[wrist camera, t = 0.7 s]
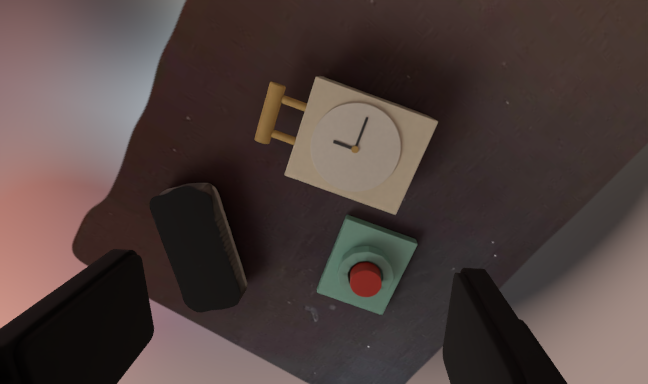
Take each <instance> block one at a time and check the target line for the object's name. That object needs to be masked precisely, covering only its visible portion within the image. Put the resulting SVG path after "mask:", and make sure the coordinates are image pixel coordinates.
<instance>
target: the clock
mask: <svg viewBox="0 0 648 384" xmlns="http://www.w3.org/2000/svg"><path fill="white" fill-rule="evenodd" d="M285 89H286V87H285V86H283V85H281V84H278V83H275V82H270V84H269V88H268V92H267V95H266V99H265V103H264V106H263V110H262V113H261V117H260V121H259V124H258V128H257V131H256V135H255V140H256V141H258V142H260V143H263V144H269V143H270V140H271V137H273V138H276V139H279V140H282V141H284V142H287V143H290V144H293V145H294V147H293V150H292V153H291V156H290V159H289V162H288V165H287V169H286V172H285V175H286V176H288V177H291V178H294V179H297V180H300V181H302V182H305V183H308V184H311V185H313V186H316V187H319V188H322V189H325V190H327V191H330V192H333V193H336V194H338V195H341V196H344V197H347V198H350V199H352V200H355V201H358V202H361V203H364V204H366V205H369V206H372V207H375V208H377V209H380V210H383V211H386V212H389V213H391V214H394V215H396V213H397V211H398V209H399V207H400V204H401V202H402V200H403V198H404V196H405V193H406V191H407V189H408V187H409V185H410V183H411V180H412V178H413V176H414V174H415V172H416V170H417V167H418V165H419V163H420V161H421V159H422V156H423V154H424V152H425V150H426V148H427V146H428V143H429V141H430V139H431V137H432V135H433V133H434V130H435V128H436V126H437V124H438V121H437V120H435V119H433V118H431V117H430V116H428V115H426V114H423V113H420V112H418V111H415V110H412V109H410V108H407V107H404V106H401V105H399V104H396V103H393V102H390V101H388V100H385V99H382V98H380V97H377V96H374V95H371V94H369V93H366V92H363V91H361V90H358V89H355V88H352V87H350V86H347V85H344V84H342V83H339V82H336V81H333V80H331V79H328V78H325V77H323V76H319V77H316V78H315V81H314V84H313V87H312V90H311V93H310V97H309V100H308V103H304V102H301V101H299V100H296V99H293V98H290V97H288V96H285V95H284V92H285ZM281 103H283V104H286V105H288V106H291V107H294V108H297V109H299V110H302V111H305V112H304V115H303V119H302V122H301V125H300V128H299V131H298V134H297V137H293V136H291V135H288V134H285V133H282V132H280V131H277V130H274V126H275V123H276V120H277V116H278V113H279V109H280V106H281Z"/></svg>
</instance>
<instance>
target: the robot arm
mask: <svg viewBox="0 0 648 384" xmlns="http://www.w3.org/2000/svg"><path fill="white" fill-rule="evenodd" d="M153 333H154V325H153V320H152V314H151V308H150V303H149V297H148V292H147V286H146V280H145V275H144V269H143V263H142V259H141V257H140V256H139V255H137V253H136V252H135V251H133V250H120V249H113V250H111V251H109V252H108V253H106V254H105V255H104V256H102V257H101V258H99V259H98V260H97V261H95V262H94V263H92V264H91V265H90V266H88V267H87V268H85V269H84V270H82V271H81V272H80V273H79V274H77V275H75V276H74V277H73V278H71V279H70V280H68V281H67V282H65V283H64V284H63V285H62V286H60V287H58V288H57V289H56V290H54V291H53V292H51V293H50V294H49V295H47V296H46V297H44V298H43V299H41V300H40V301H39V302H37V303H36V304H34V305H33V306H32V307H30V308H29V309H28V310H26V311H25V312H23V313H22V314H21V315H19V316H17V317H16V318H15V319H13V320H12V321H10V322H9V323H8V324H6V325H5V326H3V327H2V328H0V384H117V383H118V381H119V380H120V379H121V378H122V376H123V375H124V374H125V372H126V371H127V370H128V369H129V367H130V366H131V365H132V363H133V362H134V361H135V360H136V358H137V357H138V356H139V355H140V353H141V352H142V351H143V349H144V348H145V347H146V346H147V344H148V343H149V342H150V340H151V338H152V336H153ZM443 360H444V364H445V367H446V370H447V373H448V377H449V380H450V383H451V384H567V382H566V381H565V380H564V378H563V377H562V375H561V374H560V372H559V371H558V369H557V368H556V367H555V365H554V364H553V362H552V361H551V359H550V358H549V357H548V355H547V354H546V352H545V351H544V349H543V348H542V346H541V345H540V344H539V342H538V341H537V339H536V338H535V336H534V335H533V333H532V332H531V331H530V329H529V328H528V326H527V325H526V324H525V323H524V322H523V321H522V320H520V319H518V317H517V316H516V314H515V313H514V311H513V310H512V308H511V307H510V305H509V304H508V303H507V301H506V300H505V298H504V297H503V295H502V294H501V292H500V291H499V289H498V288H497V286H496V285H495V283H494V282H493V280H492V279H491V277H490V276H489V274H488V273H487V272H486V270H485V269H473V268H463V269H462V270H461V273H455V275H454V278H453V285H452V292H451V298H450V305H449V311H448V318H447V325H446V331H445V338H444V344H443Z"/></svg>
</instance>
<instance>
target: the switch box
mask: <svg viewBox="0 0 648 384" xmlns="http://www.w3.org/2000/svg"><path fill="white" fill-rule="evenodd" d="M417 245H418V244H417V241H416V239H414V238H411V237H409V236H406V235H403V234H400V233H397V232H395V231H392V230H389V229H386V228H383V227H381V226H378V225H375V224H372V223H369V222H367V221H364V220H361V219H358V218H355V217H353V216H350V215H346V217H345V220H344V222H343V225H342V227H341V230H340V232H339V235H338V237H337V239H336V242H335V244H334V247H333V249H332V252H331V254H330V257H329V259H328V262H327V264H326V267H325V269H324V272H323V274H322V277H321V279H320V282H319V284H318V287H317V293H320V294H323V295H326V296H329V297H332V298H335V299H337V300H340V301H343V302H346V303H349V304H352V305H355V306H357V307H360V308H363V309H366V310H369V311H372V312H375V313H377V314H380V315H382V314H383V312H384V310H385V308H386V306H387V304H388V302H389V300H390V298H391V296H392V294H393V292H394V290H395V289H396V287H397V285H398V283H399V281H400V279H401V277H402V275H403V273H404V271H405V269H406V267H407V265H408V263H409V261H410V259H411V257H412V255H413V253H414V251H415V249H416V247H417ZM360 262H370V263H373V264H375V265H376V266H377V267H378V268H379V270H380V274H381V282H382V286H381V289H380V291H379V292H378V293H377V294H376V295H374V296H371V297H361V296H358V295H357V294H355V293H354V292H353V291H352V289H351V287H350V273H351V270H352V268H353V267H354V266H355V265H356V264H358V263H360Z"/></svg>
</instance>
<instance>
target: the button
mask: <svg viewBox="0 0 648 384" xmlns="http://www.w3.org/2000/svg"><path fill="white" fill-rule="evenodd" d="M381 286H382V282H381V274H380V270H379V268H378V267H377V266H376V265H375V264H373V263H370V262H360V263H358V264H356V265H355V266H354V267H353V268H352V270H351V273H350V287H351V289H352V291H353V292H354V293H355V294H357V295H358V296H361V297H371V296H374V295H376V294H377V293H378V292H379V291H380V289H381Z"/></svg>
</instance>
